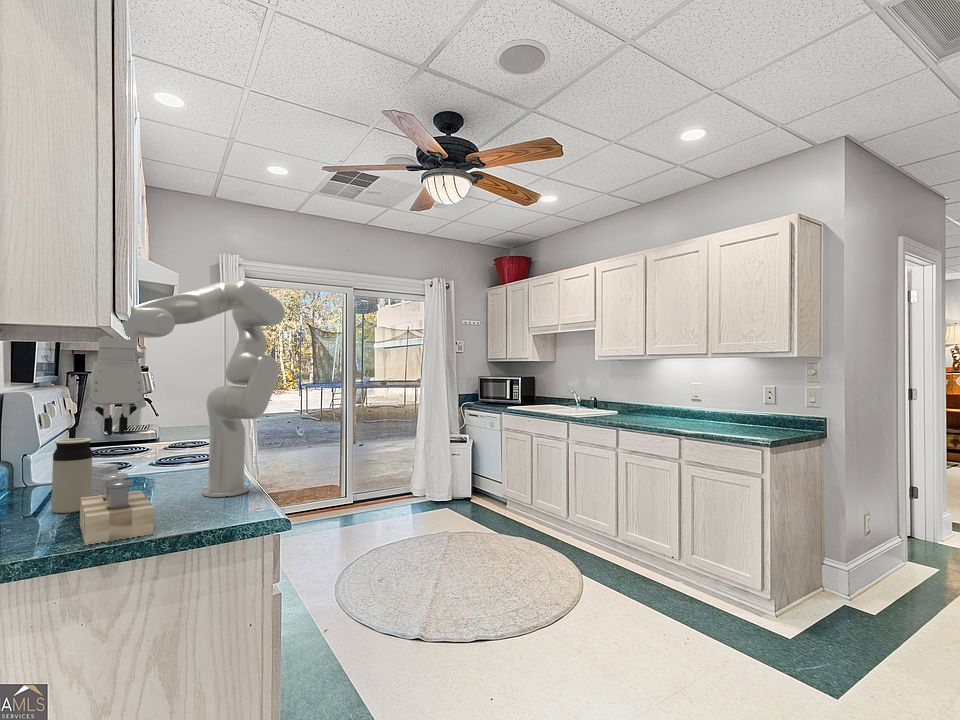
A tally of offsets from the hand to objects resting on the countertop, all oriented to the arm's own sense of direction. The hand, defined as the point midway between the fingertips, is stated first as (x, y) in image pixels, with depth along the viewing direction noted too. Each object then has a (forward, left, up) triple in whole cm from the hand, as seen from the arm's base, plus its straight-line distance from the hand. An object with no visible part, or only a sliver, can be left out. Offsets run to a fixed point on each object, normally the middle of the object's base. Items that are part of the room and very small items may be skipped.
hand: (115, 433), depth 122 cm
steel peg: (0, 0, -17) cm, 17 cm away
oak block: (+5, 0, -21) cm, 22 cm away
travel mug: (-21, -7, -21) cm, 31 cm away
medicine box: (-36, 0, -21) cm, 42 cm away
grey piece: (+10, 0, -17) cm, 19 cm away
